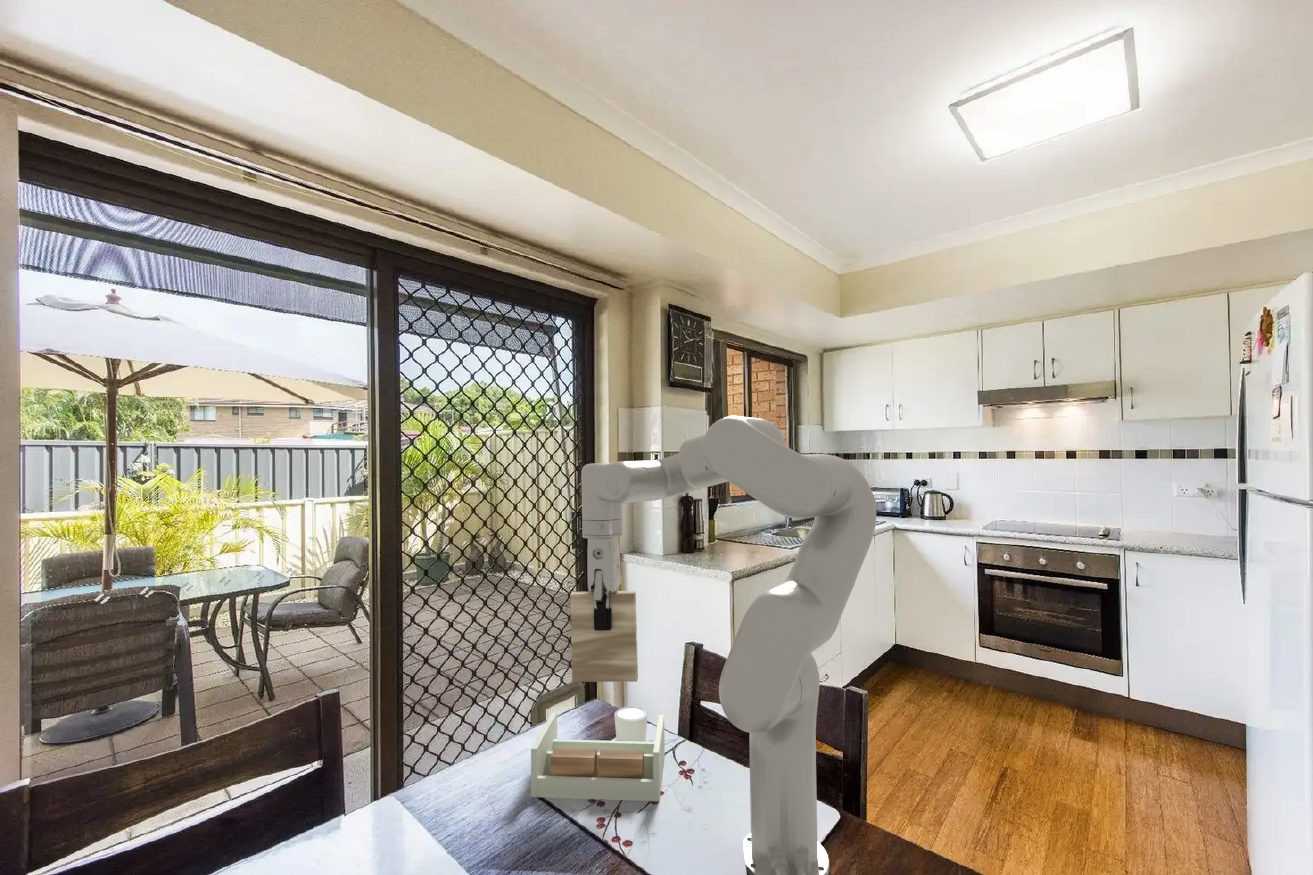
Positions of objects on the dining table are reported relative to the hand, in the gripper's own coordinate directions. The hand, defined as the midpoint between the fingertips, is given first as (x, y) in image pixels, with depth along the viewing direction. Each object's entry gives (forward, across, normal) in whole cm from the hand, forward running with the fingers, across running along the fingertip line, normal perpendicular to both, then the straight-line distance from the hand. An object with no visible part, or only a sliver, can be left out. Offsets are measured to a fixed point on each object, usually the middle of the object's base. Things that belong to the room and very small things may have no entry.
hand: (604, 627), depth 105 cm
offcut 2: (+26, -6, -4) cm, 27 cm away
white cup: (+28, +12, -3) cm, 30 cm away
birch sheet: (+10, 0, 0) cm, 10 cm away
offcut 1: (+26, -6, +5) cm, 27 cm away
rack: (+28, -2, +1) cm, 28 cm away
